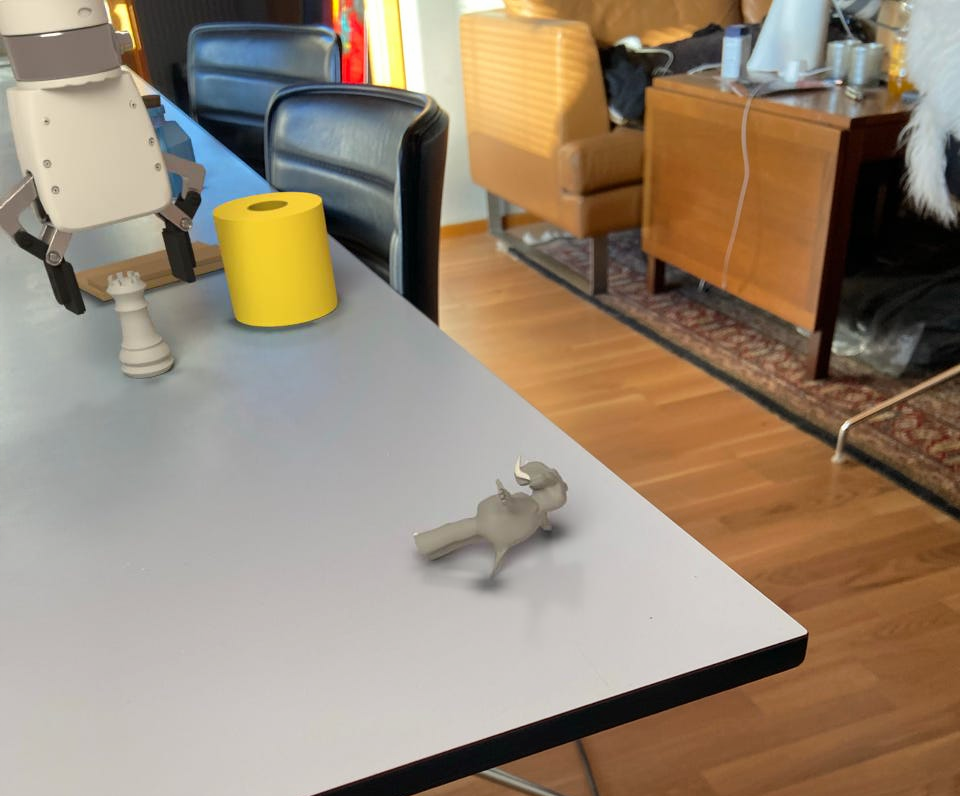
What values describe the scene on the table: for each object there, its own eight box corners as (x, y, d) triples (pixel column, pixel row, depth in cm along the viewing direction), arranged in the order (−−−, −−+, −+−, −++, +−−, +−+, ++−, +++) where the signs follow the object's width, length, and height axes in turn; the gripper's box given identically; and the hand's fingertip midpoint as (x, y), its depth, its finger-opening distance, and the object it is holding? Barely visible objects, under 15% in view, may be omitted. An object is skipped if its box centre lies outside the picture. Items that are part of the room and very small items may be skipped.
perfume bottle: (177, 197, 141) (155, 100, 134) (140, 196, 143) (115, 101, 136) (201, 185, 145) (180, 91, 138) (164, 185, 147) (142, 93, 140)
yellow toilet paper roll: (234, 332, 94) (211, 226, 88) (234, 299, 102) (213, 200, 96) (342, 317, 95) (325, 212, 90) (333, 286, 103) (318, 187, 98)
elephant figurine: (439, 516, 64) (573, 465, 61) (464, 606, 63) (601, 558, 61) (372, 484, 55) (527, 423, 52) (401, 589, 54) (560, 532, 51)
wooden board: (104, 301, 105) (100, 287, 104) (68, 282, 111) (64, 269, 110) (241, 263, 112) (238, 250, 111) (200, 247, 119) (197, 235, 118)
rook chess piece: (171, 356, 90) (147, 264, 85) (178, 372, 87) (153, 278, 82) (120, 366, 89) (93, 273, 84) (125, 383, 86) (97, 288, 81)
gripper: (152, 40, 80) (205, 261, 90) (-72, 75, 72) (13, 314, 82) (194, 42, 76) (245, 276, 86) (-41, 81, 67) (46, 334, 77)
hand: (131, 294), depth 84 cm, fingers open, 9 cm apart
